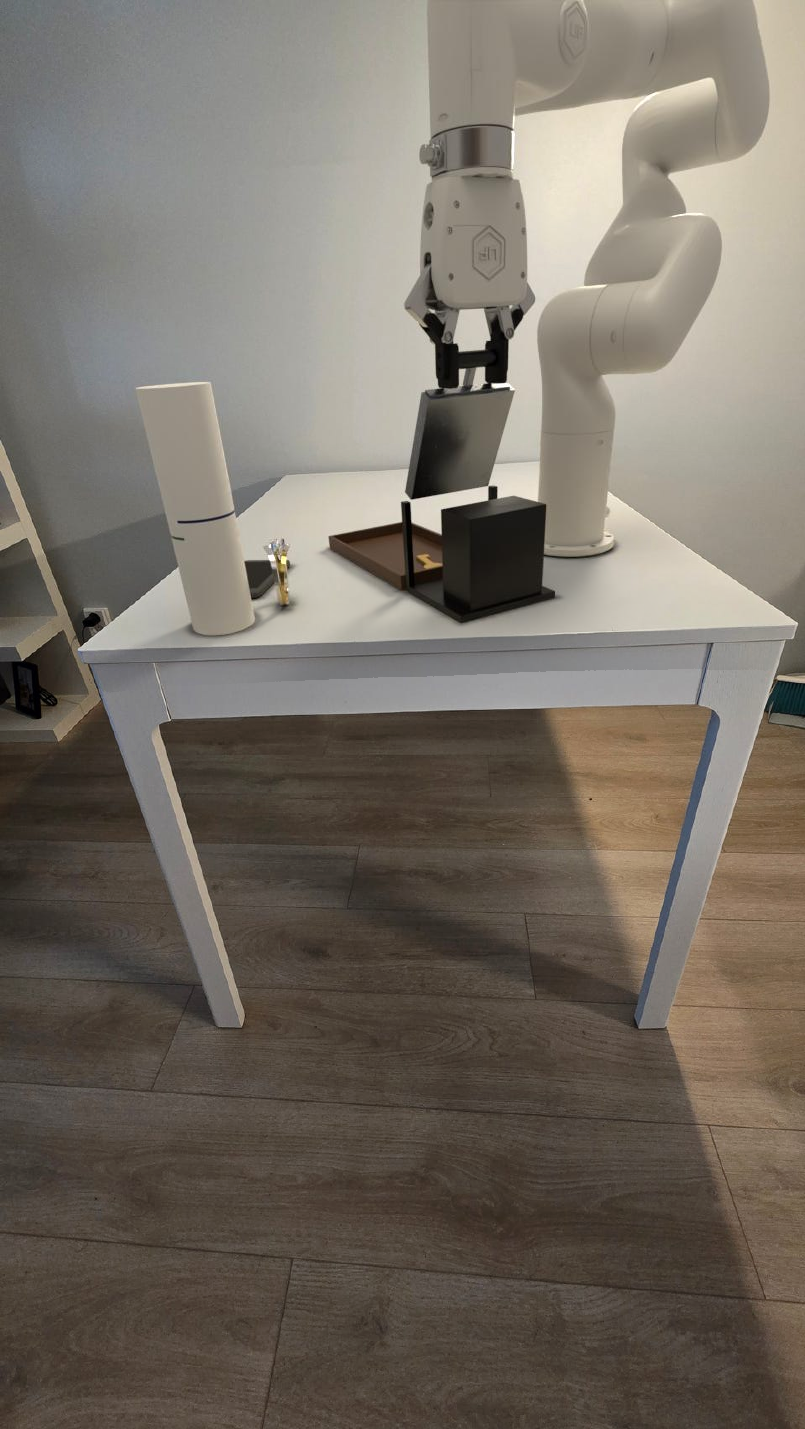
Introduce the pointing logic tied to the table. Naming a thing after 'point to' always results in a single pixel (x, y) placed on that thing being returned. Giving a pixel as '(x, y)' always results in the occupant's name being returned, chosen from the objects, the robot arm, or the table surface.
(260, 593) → the cell phone
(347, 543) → the tray
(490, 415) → the dark tilted plate
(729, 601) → the table surface
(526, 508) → the stand
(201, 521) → the cylindrical container
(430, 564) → the yellow i-shaped piece
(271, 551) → the ring
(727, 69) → the robot arm
